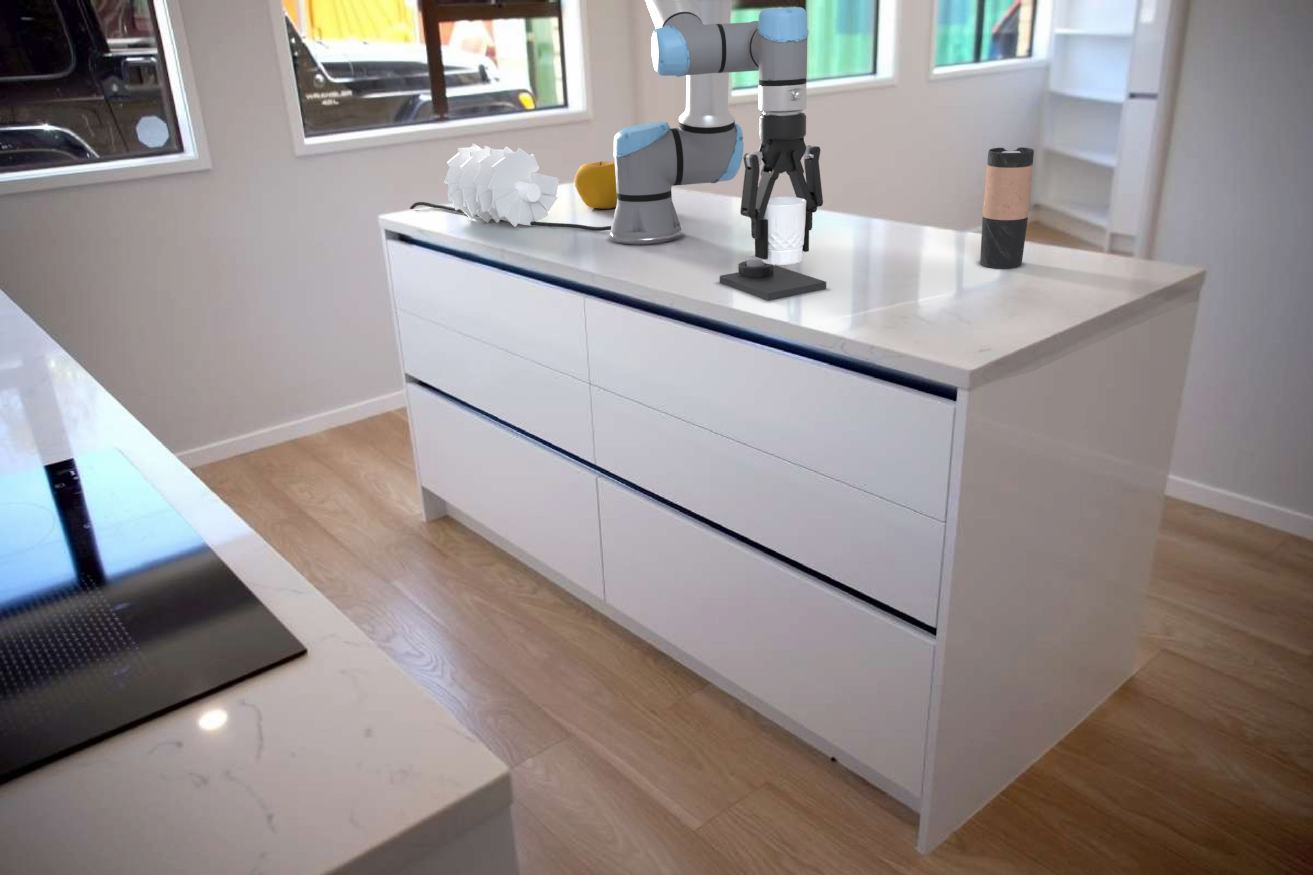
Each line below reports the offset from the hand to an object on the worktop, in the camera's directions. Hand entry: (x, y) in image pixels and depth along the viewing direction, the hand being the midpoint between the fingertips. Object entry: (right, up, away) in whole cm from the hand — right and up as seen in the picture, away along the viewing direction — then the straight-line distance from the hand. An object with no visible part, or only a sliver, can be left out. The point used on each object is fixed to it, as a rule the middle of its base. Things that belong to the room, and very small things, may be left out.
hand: (782, 253), depth 168 cm
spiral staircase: (-58, +20, +70) cm, 93 cm away
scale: (-1, -5, +5) cm, 7 cm away
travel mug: (+41, 0, +12) cm, 43 cm away
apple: (-35, +26, +81) cm, 92 cm away
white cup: (0, -1, 0) cm, 1 cm away
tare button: (-4, -1, +8) cm, 9 cm away
